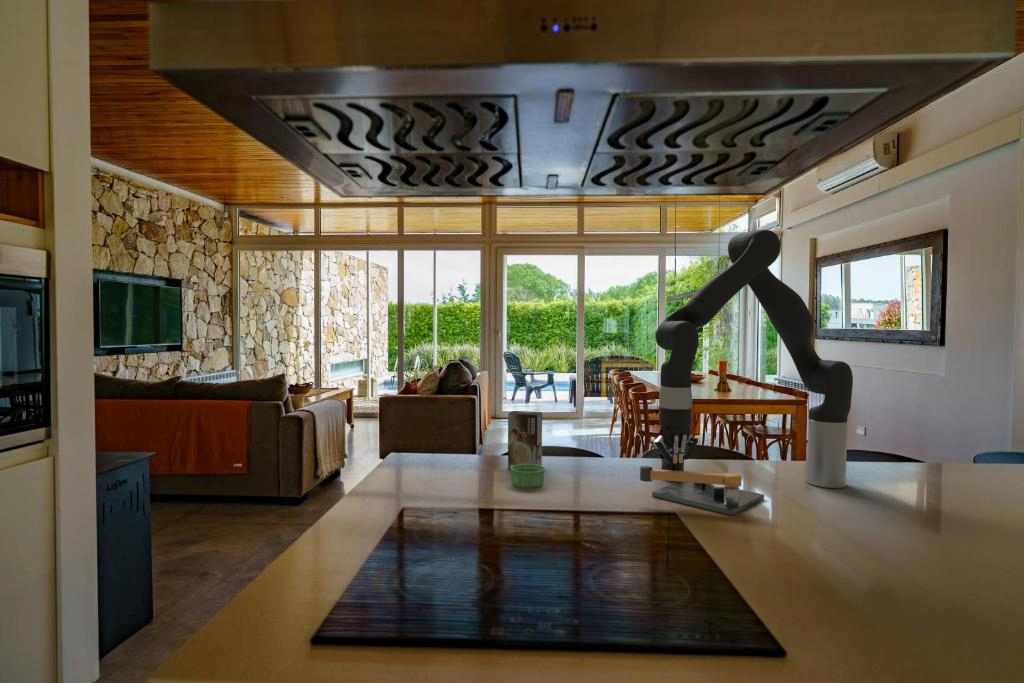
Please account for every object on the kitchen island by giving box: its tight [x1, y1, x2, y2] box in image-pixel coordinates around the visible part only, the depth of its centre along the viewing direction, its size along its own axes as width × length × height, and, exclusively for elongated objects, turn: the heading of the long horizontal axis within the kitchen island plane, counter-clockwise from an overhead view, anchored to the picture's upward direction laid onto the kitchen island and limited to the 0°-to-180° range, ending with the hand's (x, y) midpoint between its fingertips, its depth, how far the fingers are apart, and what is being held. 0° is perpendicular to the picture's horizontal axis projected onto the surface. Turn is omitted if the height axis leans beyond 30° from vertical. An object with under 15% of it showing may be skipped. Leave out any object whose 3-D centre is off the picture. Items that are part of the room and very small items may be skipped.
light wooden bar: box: [639, 465, 742, 488], centre depth 135 cm, size 22×4×3 cm, turn 76°
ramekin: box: [510, 464, 546, 489], centre depth 152 cm, size 9×9×4 cm
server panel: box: [651, 481, 765, 516], centre depth 143 cm, size 19×20×5 cm
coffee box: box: [507, 410, 543, 470], centre depth 170 cm, size 9×6×16 cm
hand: (674, 478), depth 139 cm, fingers closed
